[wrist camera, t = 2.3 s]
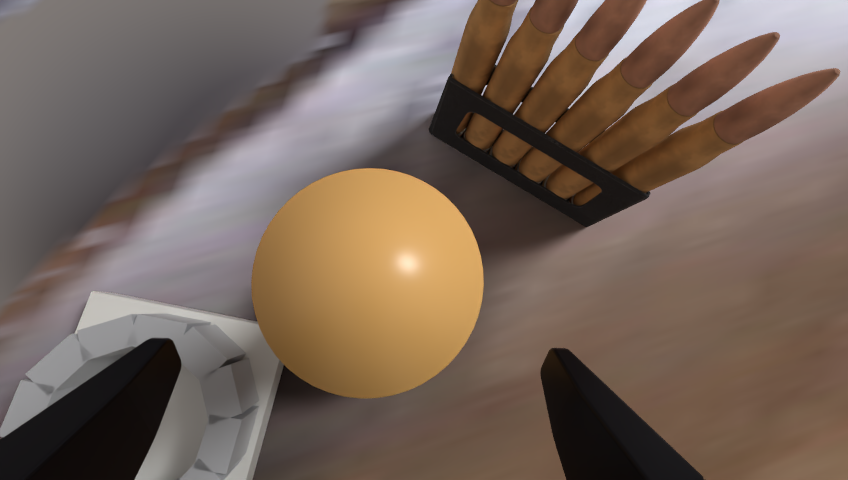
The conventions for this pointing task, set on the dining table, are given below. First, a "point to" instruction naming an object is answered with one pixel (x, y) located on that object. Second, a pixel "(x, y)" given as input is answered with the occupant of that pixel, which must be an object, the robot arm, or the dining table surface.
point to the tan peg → (367, 283)
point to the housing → (194, 390)
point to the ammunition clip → (601, 103)
